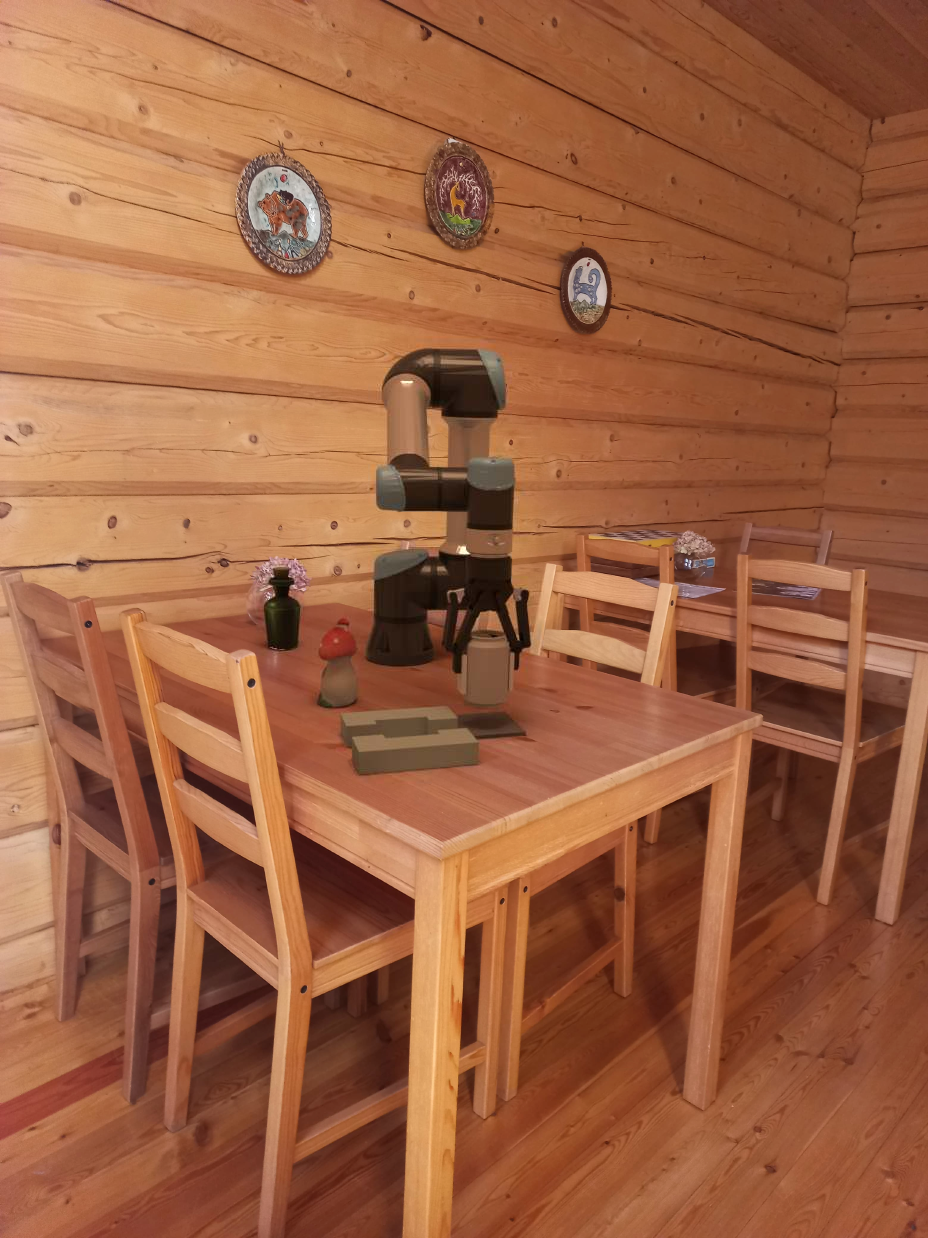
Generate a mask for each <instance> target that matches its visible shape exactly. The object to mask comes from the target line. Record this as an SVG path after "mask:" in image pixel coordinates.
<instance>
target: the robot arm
mask: <svg viewBox="0 0 928 1238" xmlns="http://www.w3.org/2000/svg"><path fill="white" fill-rule="evenodd" d="M506 384H507V383H506V375H505V369H504V364H503V361H502V357H501V356H500V355H499V353H497V352H496V351H494V350H489V349H488V350H487V349H478V348H475V349H473V348H472V349H467V348H466V349H465V348H463V349H462V348H431V347H428V348H427V347H424V348H420V349H416V350H412V351H411V352H409V353H407V354H406V355H404V356H402V357H400V359H398V360H397V361H396V362H395V363H394V364H393V365H392V366H391V367H390V369H389V370H388V371H387V373H386V374H385V377H384V379H383V382H382V385H381V401H382V404H383V407H384V408H385V409H386V465H381V466H378V467H377V469H376V470H375V471H376V472H375V504H376V507H377V508H378V509H380V510H382V511H391V512H393V511H396V512H397V513H401V512H440V513H441V512H444V513H446V520H445V521H446V527H445V528H446V529H445V536H446V537H445V541H444V542H443V543H442V544H441V545H440V546H439V547H438V556H437V555H436V556H434V555H433V556H431V555H430V553H429V551H428V549H425V548H408V549H398V550H392V551H389V552H385V553H381V554H380V555H378V556H377V557H376V558H375V560H374V565H373V576H372V580H373V623H372V627H371V629H370V632H369V636H368V638H367V642H366V645H365V659H366V660H368V661H370V662H373V663H374V664H375V663H376V664H379V665H387V666H388V665H389V666H414V665H422V664H426V663H429V662H432V661H433V660H434V659H435V658H436V646H435V642H434V640H433V639H434V638H433V637H432V633H431V630H430V627H429V623H428V611H446V614H445V621H444V627H443V633H442V640H441V647H442V649H443V650H445V652H447V653H451V654H452V660H451V661H452V665H451V667H452V668H451V669H452V672H453V673H454V674H457V691H458V692H459V693H460V694H462V695H463V694H466V689H467V655H466V654H465V653H464V648H465V646H466V644H467V641H468V639H469V636H470V634H471V631H473V629H474V627H475V624H476V622H477V619H478V618H479V617H480V614H481V613H486V612H495V614H497V616H498V619H499V623H500V625H501V628H502V632H503V633H505V634H506V636H505V639H506V640H507V641H508V642H509V668H508V692H514V679H515V678H514V677H515V676H514V674H515V671H519V668H520V656H521V655H520V654H521V653H522V652H523V650H524V649H530V647H532V641H531V632H530V631H531V629H530V621H529V611H528V601H529V596H530V591H529V590H528V589H525V588H524V587H519V588H518V587H515V586H513V582H512V569H513V558H512V556H510V555H509V554H511V553H512V552H513V536H514V535H513V532H514V527H513V526H514V503H515V502H514V500H515V499H514V498H515V484H516V477H515V470H516V469H515V462H514V460H512V459H511V458H508V457H506V458H505V457H490V440H491V439H490V438H491V437H490V436H491V427H492V425H493V424H494V423H495V422H497V420H498V417H499V411H503V410H505V408H506V405H507V386H506ZM429 408H431V409H440V411H441V413H440V414H441V415H440V416H441V417H440V418H441V419H442V420H443V421H444V422H445V423H446V424H447V427H448V430H447V431H448V434H447V439H448V440H447V466H431V463H430V445H429V443H430V442H429V429H428V414H427V413H428V412H427V411H428V410H427V409H429ZM511 596H512V597H513V600H515V603H514V604H515V613H516V622H517V632H518V636H517V634H516V631H515V629H514V626H513V623H512V619H511V617H510V613H509V610H508V606H507V604H506V603H507V602H508V601H509V599H510V597H511ZM459 611H465V615H464V618H463V619H462V622H461V624H460V627H459V630H458V632H457V634H456V628H457V622H458V616H459ZM455 635H456V636H455Z"/></svg>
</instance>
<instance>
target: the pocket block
mask: <svg viewBox="0 0 928 1238" xmlns="http://www.w3.org/2000/svg"><path fill="white" fill-rule="evenodd" d="M339 714H340V715H339V716H340V718H339V719H340V721H339V722H340V725H339V726H340V727H339V728H340V735H341V736H340V737H342V740H343V742H344V745H345V746H346V748H351V760H352V762H353V765H354V767H355V769H356V771H357V773H358V775H359V776H360V775H361V776H362V775H372V774H375V775H376V774H383V773H384V774H386V773H398V772H406V771H418V770H419V771H420V770H428V769H431V770H432V769H439V768H440V769H441V768H451V767H463V766H474V765H479V757H480V756H479V755H480V754H479V752H480V751H479V749H480V747H479V746H480V742H479V741H478V739H476V738H475V737H474V736H473V735H472V734H471V733H470V731H469V730H468V729H467V728H461V729H458V718H457V717H456V715H457V714H455V713H454V712H453V710H451V708H450V707H449V706H448V705H442V706H427V707H425V706H424V707H416V708H415V707H411V708H397V709H386V710H385V709H384V710H381V709H380V710H369V711H368V710H367V711H354V712H340V713H339Z"/></svg>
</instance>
